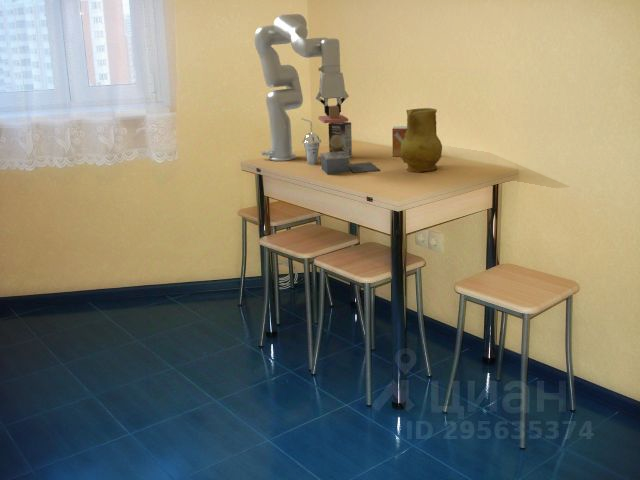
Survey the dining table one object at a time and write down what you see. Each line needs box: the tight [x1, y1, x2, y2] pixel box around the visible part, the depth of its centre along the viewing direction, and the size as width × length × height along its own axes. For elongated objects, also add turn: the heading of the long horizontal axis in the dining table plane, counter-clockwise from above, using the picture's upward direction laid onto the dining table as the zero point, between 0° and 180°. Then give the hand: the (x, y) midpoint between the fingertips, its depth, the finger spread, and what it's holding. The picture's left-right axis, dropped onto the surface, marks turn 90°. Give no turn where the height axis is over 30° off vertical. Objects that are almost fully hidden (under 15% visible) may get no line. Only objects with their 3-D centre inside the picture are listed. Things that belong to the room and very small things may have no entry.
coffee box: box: [327, 121, 353, 158], centre depth 337 cm, size 9×6×16 cm
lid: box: [318, 104, 349, 124], centre depth 305 cm, size 10×12×6 cm
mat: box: [349, 162, 381, 174], centre depth 314 cm, size 12×16×1 cm
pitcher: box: [400, 107, 443, 173], centre depth 304 cm, size 17×19×25 cm
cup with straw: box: [301, 118, 322, 166], centre depth 326 cm, size 8×9×20 cm
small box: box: [391, 125, 407, 157], centre depth 335 cm, size 8×6×13 cm
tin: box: [319, 151, 351, 176], centre depth 311 cm, size 10×12×7 cm
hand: (332, 114), depth 305 cm, fingers closed on lid, 4 cm apart
